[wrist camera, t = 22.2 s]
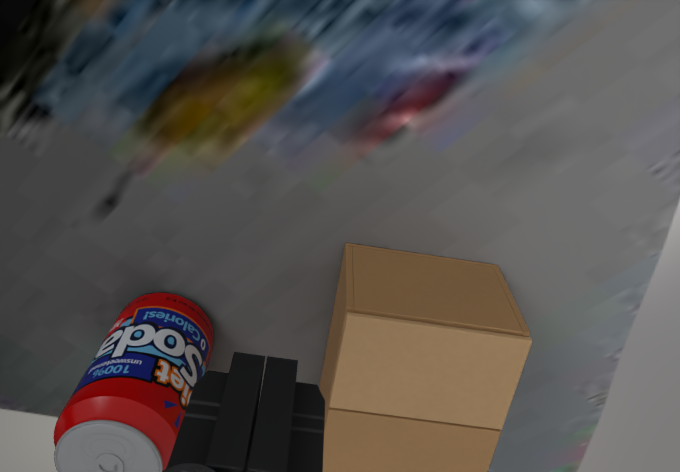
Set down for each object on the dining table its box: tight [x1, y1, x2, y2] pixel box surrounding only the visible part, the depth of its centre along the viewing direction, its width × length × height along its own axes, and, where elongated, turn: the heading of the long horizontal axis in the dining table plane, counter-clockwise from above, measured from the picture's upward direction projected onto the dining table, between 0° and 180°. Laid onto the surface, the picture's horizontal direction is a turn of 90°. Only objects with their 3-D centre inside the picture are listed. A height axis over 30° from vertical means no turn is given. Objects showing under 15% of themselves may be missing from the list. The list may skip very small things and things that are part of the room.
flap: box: [329, 312, 532, 430], centre depth 42 cm, size 7×12×1 cm, turn 81°
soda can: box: [54, 293, 214, 472], centre depth 45 cm, size 8×8×15 cm
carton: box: [319, 243, 530, 472], centre depth 48 cm, size 15×12×10 cm
